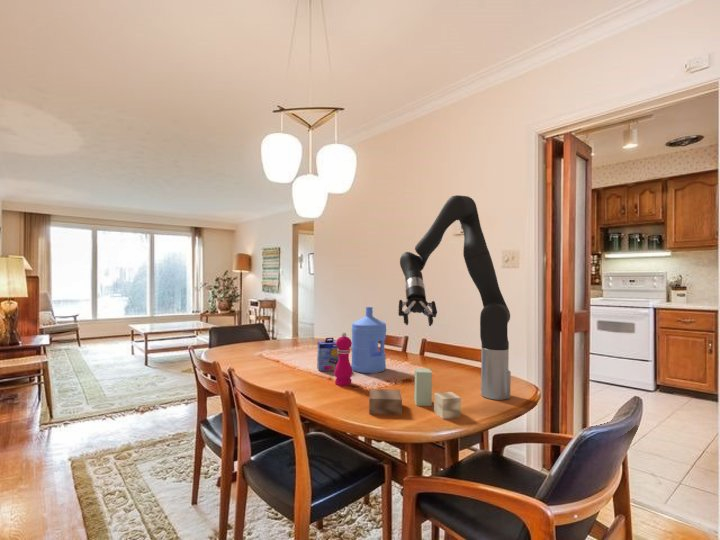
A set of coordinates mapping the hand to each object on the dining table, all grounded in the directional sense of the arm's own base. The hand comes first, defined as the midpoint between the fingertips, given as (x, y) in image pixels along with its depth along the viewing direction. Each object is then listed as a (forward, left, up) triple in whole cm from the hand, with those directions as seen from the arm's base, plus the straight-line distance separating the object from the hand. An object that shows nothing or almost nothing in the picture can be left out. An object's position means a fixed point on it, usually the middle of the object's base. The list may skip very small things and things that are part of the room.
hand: (418, 324), depth 140 cm
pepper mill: (+28, -10, -25) cm, 39 cm away
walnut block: (+13, +17, -25) cm, 33 cm away
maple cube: (-6, +21, -25) cm, 33 cm away
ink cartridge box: (+36, -32, -25) cm, 54 cm away
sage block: (0, +11, -25) cm, 27 cm away
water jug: (+18, -33, -25) cm, 45 cm away
